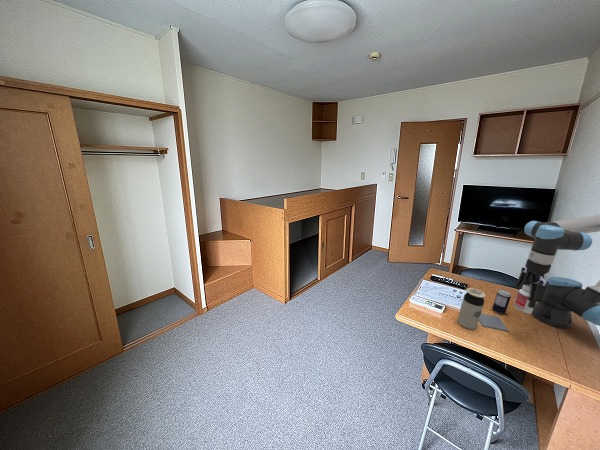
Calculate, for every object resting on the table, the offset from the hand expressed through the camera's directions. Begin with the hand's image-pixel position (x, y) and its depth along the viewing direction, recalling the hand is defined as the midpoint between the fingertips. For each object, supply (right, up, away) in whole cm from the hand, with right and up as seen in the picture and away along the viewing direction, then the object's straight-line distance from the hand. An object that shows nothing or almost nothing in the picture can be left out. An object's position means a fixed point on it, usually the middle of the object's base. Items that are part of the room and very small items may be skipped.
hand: (522, 307), depth 110 cm
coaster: (-4, -11, +13) cm, 18 cm away
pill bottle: (0, -1, 0) cm, 1 cm away
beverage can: (+7, -10, +22) cm, 25 cm away
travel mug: (-18, -12, +10) cm, 24 cm away
